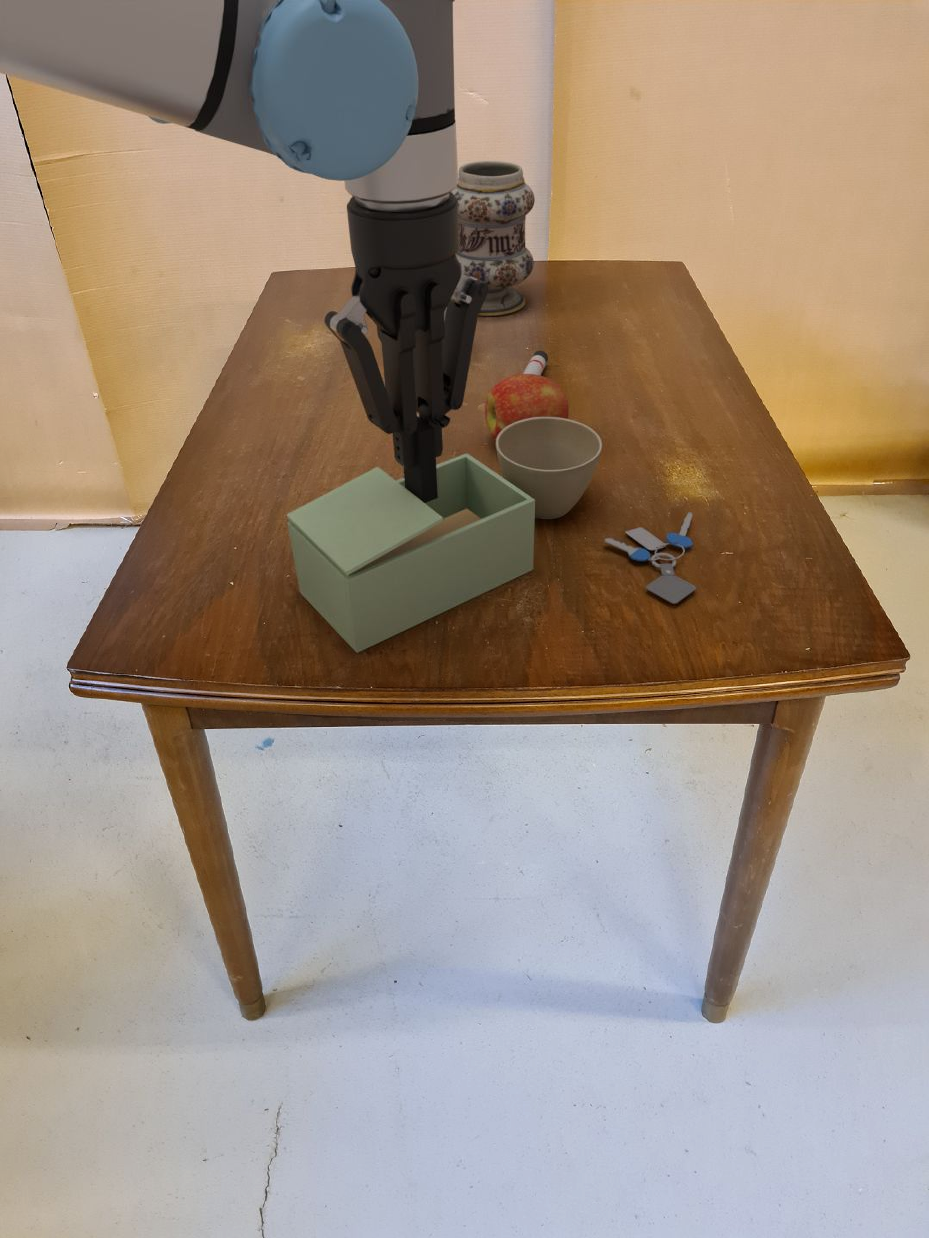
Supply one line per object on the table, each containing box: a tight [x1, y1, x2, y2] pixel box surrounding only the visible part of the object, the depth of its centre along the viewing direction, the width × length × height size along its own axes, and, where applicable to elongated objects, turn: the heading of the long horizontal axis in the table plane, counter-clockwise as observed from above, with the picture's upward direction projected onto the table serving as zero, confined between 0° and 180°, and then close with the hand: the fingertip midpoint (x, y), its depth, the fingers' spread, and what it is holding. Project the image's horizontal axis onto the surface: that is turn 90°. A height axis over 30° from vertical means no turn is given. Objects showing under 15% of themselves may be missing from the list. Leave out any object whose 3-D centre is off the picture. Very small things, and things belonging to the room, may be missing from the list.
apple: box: [484, 373, 570, 441], centre depth 97 cm, size 8×8×8 cm
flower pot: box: [495, 417, 603, 520], centre depth 88 cm, size 10×10×7 cm
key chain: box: [604, 511, 697, 605], centre depth 83 cm, size 14×8×1 cm, turn 170°
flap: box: [286, 466, 443, 575], centre depth 74 cm, size 9×10×1 cm
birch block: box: [349, 509, 481, 576], centre depth 80 cm, size 4×14×4 cm, turn 127°
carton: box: [286, 453, 536, 654], centre depth 79 cm, size 18×10×8 cm, turn 126°
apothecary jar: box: [451, 160, 536, 317], centre depth 124 cm, size 12×12×18 cm
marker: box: [522, 350, 549, 376], centre depth 108 cm, size 15×2×2 cm, turn 164°
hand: (421, 493), depth 76 cm, fingers closed
